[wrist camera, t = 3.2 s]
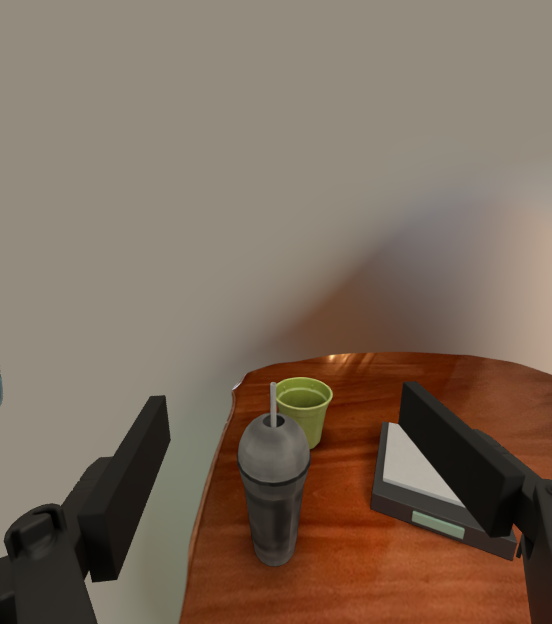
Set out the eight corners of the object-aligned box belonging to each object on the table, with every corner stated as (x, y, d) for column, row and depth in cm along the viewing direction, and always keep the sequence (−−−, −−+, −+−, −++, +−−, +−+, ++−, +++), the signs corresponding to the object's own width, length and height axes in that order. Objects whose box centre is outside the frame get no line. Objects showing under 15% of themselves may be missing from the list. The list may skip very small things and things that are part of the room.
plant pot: (276, 462, 42) (276, 410, 40) (270, 422, 51) (269, 378, 49) (337, 456, 43) (340, 406, 41) (320, 418, 52) (322, 375, 50)
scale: (370, 511, 34) (372, 490, 34) (381, 434, 48) (382, 418, 47) (513, 564, 29) (520, 541, 28) (480, 460, 42) (484, 442, 42)
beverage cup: (304, 512, 34) (309, 359, 29) (311, 583, 27) (319, 399, 22) (244, 511, 34) (238, 360, 29) (236, 582, 27) (226, 399, 22)
